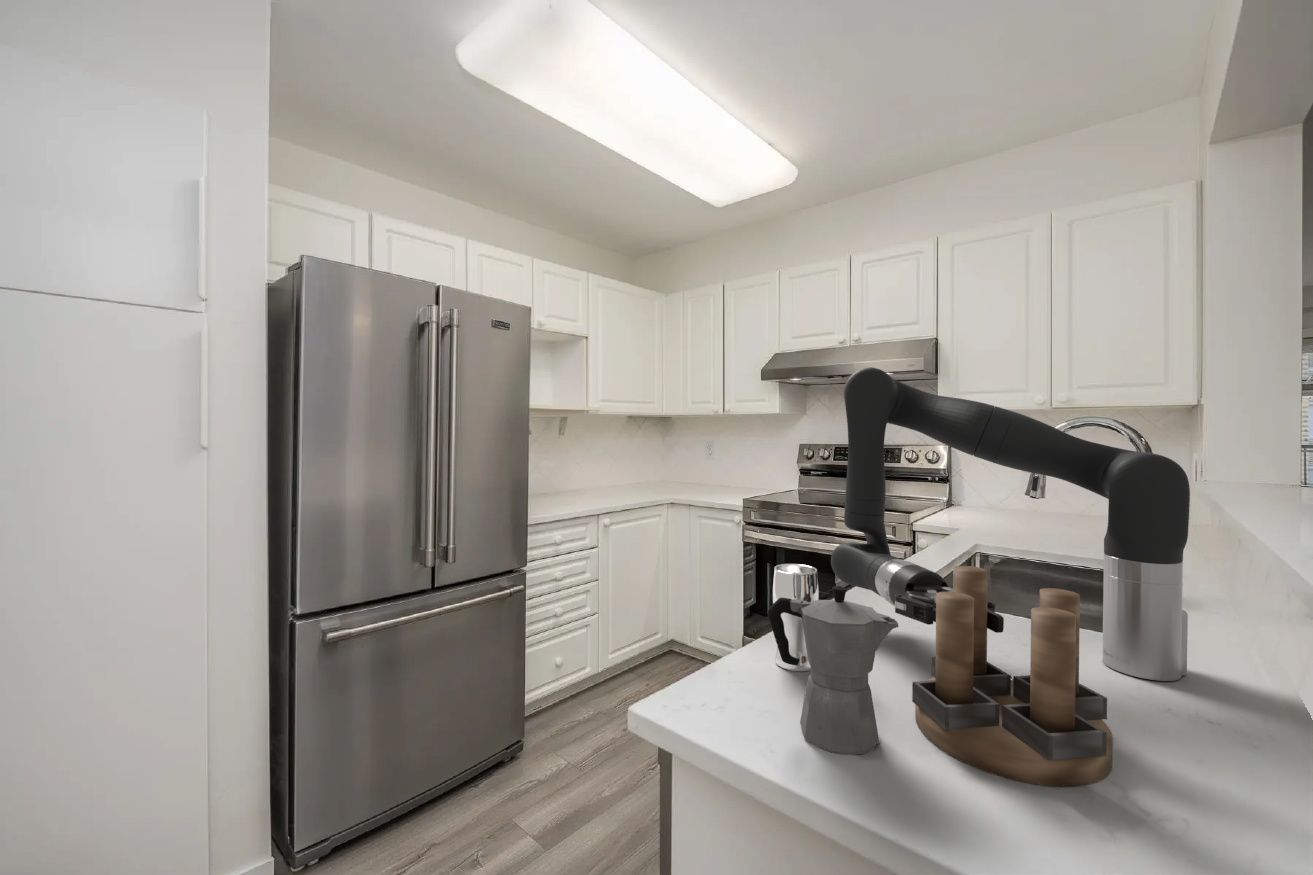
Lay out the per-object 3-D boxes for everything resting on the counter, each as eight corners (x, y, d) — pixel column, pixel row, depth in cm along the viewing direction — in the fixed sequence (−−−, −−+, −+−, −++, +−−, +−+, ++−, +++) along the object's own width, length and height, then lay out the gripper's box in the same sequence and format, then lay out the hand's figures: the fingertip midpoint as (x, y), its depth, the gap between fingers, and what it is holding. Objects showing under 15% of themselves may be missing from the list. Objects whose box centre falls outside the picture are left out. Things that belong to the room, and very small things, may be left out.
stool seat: (1020, 691, 80) (1022, 571, 80) (1164, 780, 60) (1166, 619, 60) (884, 699, 78) (885, 575, 77) (986, 793, 58) (987, 627, 57)
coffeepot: (901, 730, 70) (902, 584, 70) (892, 770, 62) (894, 605, 61) (778, 701, 77) (778, 569, 77) (755, 734, 69) (756, 586, 69)
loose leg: (973, 667, 78) (974, 565, 77) (993, 680, 74) (994, 572, 73) (945, 668, 77) (946, 566, 77) (965, 681, 73) (965, 573, 73)
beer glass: (819, 674, 85) (820, 575, 85) (772, 670, 87) (772, 572, 87) (816, 656, 92) (816, 564, 92) (772, 652, 94) (772, 562, 93)
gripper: (867, 565, 89) (932, 598, 72) (952, 562, 90) (1036, 594, 73) (866, 613, 89) (932, 657, 72) (952, 609, 90) (1035, 652, 73)
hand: (984, 625), depth 73 cm, fingers closed on loose leg, 4 cm apart
